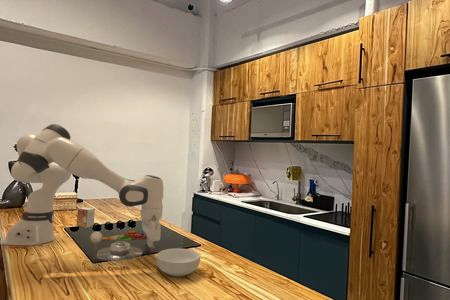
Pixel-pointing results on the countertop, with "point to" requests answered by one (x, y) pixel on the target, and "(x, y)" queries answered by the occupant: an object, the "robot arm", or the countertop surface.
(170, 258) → the cereal bowl
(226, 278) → the countertop surface
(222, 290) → the countertop surface
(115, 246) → the cover
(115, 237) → the gear puzzle
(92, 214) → the small box
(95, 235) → the lever with square base
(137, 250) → the turntable
